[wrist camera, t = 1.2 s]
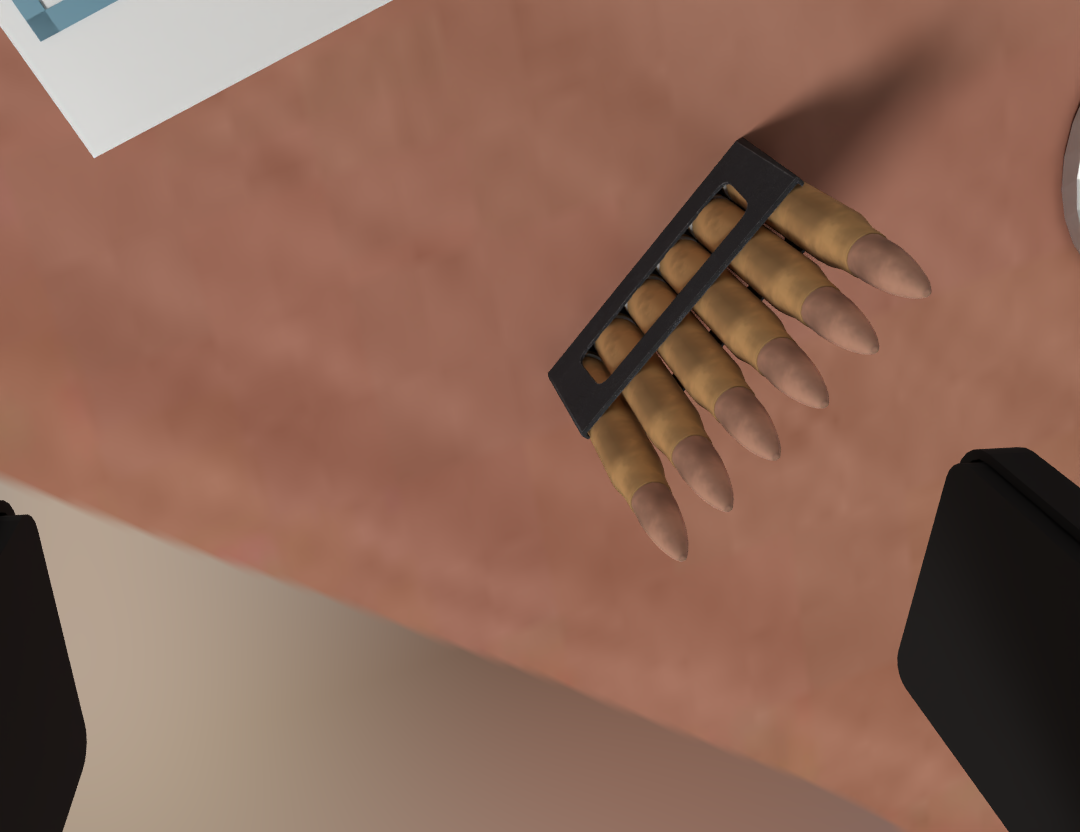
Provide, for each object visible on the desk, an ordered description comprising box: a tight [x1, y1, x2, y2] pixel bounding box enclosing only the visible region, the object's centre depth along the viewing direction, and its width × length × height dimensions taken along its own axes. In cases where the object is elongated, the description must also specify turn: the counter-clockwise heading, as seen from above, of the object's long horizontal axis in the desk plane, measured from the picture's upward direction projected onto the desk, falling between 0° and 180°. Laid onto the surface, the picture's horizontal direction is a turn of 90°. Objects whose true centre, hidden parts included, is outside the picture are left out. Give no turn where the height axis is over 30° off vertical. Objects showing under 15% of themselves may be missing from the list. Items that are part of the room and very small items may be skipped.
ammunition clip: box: [548, 138, 931, 562], centre depth 28 cm, size 11×2×12 cm, turn 142°
